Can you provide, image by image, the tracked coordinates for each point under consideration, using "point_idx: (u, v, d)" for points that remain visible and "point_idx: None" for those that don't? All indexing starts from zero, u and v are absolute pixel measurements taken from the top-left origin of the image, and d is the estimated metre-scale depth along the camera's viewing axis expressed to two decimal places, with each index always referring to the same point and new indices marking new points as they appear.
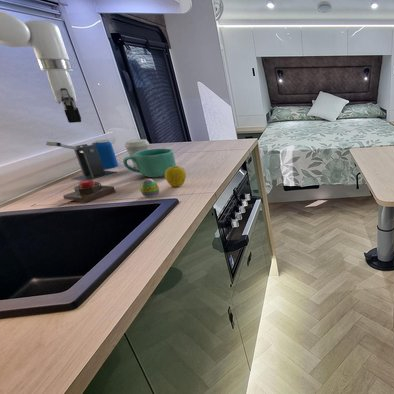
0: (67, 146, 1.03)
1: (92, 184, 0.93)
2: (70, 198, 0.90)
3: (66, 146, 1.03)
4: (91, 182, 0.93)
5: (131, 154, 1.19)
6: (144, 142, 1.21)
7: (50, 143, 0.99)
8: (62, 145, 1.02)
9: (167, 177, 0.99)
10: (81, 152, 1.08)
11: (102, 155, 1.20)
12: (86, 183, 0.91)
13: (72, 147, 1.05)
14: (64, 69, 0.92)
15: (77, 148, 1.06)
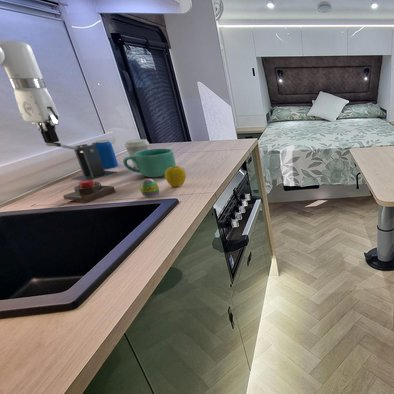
0: (67, 146, 1.03)
1: (92, 184, 0.93)
2: (70, 198, 0.90)
3: (66, 146, 1.03)
4: (91, 182, 0.93)
5: (131, 154, 1.19)
6: (144, 142, 1.21)
7: (50, 143, 0.99)
8: (62, 145, 1.02)
9: (167, 177, 0.99)
10: (81, 152, 1.08)
11: (102, 155, 1.20)
12: (86, 183, 0.91)
13: (72, 147, 1.05)
14: (44, 88, 0.94)
15: (77, 148, 1.06)
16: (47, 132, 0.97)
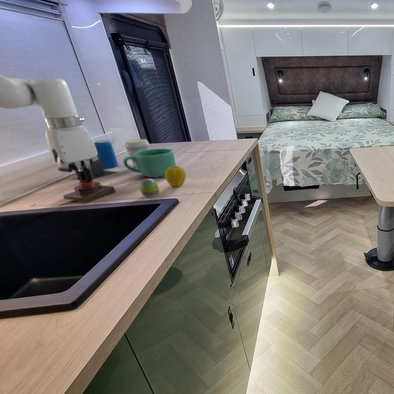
0: None
1: (92, 185, 0.93)
2: (70, 198, 0.90)
3: None
4: (91, 183, 0.93)
5: (131, 154, 1.19)
6: (144, 142, 1.21)
7: (63, 170, 1.03)
8: None
9: (167, 177, 0.99)
10: None
11: (102, 155, 1.20)
12: (86, 184, 0.91)
13: None
14: (57, 128, 0.83)
15: None
16: None
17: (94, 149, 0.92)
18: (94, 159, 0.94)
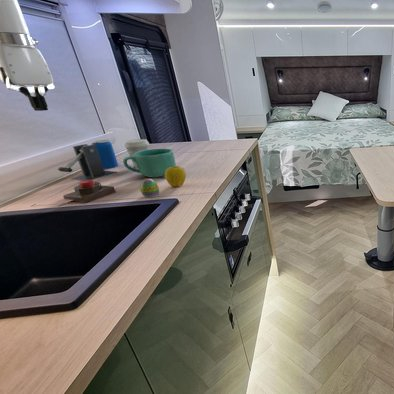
0: (74, 162, 1.06)
1: (92, 184, 0.93)
2: (70, 198, 0.90)
3: (73, 162, 1.06)
4: (91, 182, 0.93)
5: (131, 154, 1.19)
6: (144, 142, 1.21)
7: (63, 170, 1.03)
8: (71, 165, 1.05)
9: (167, 177, 0.99)
10: None
11: (102, 155, 1.20)
12: (86, 183, 0.91)
13: (77, 159, 1.07)
14: (4, 44, 0.78)
15: (80, 156, 1.07)
16: None
17: (49, 75, 0.87)
18: (50, 87, 0.89)
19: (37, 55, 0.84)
